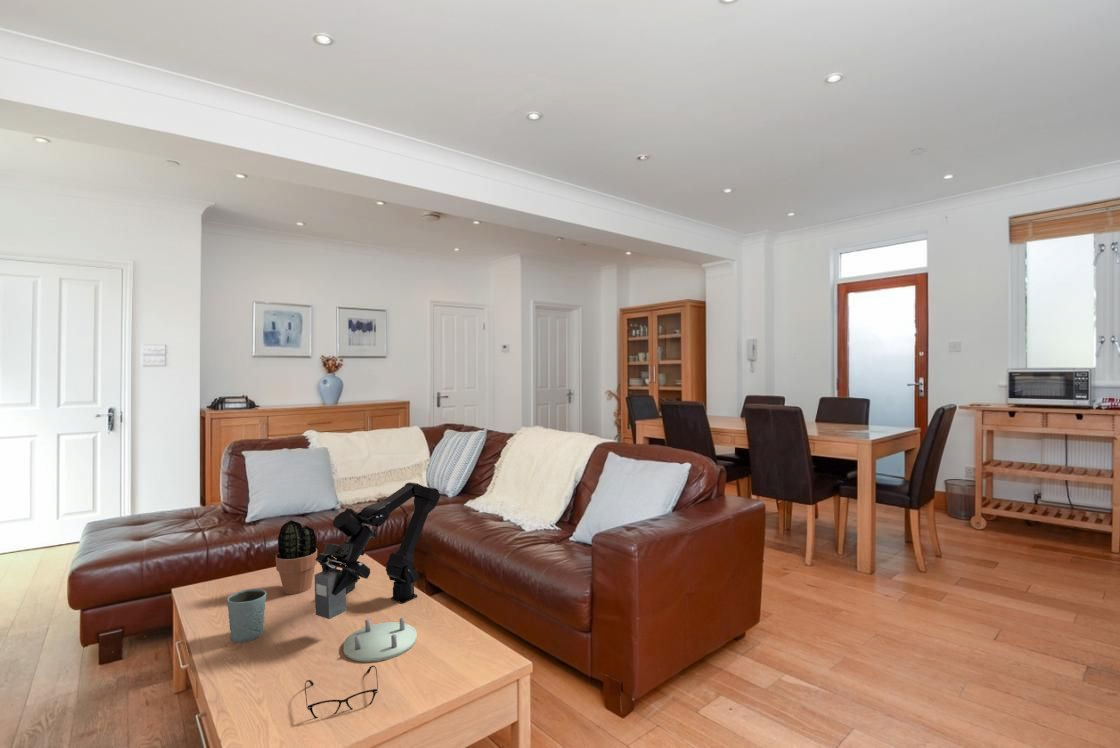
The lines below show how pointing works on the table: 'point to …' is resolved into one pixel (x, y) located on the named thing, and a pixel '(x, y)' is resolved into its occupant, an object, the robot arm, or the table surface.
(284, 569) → the potted plant
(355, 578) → the robot arm
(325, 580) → the block
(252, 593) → the embossed blue-grey cup
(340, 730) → the table surface
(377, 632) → the pin plate
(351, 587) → the gadget
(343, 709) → the table surface
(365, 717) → the table surface
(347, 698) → the eyeglasses
